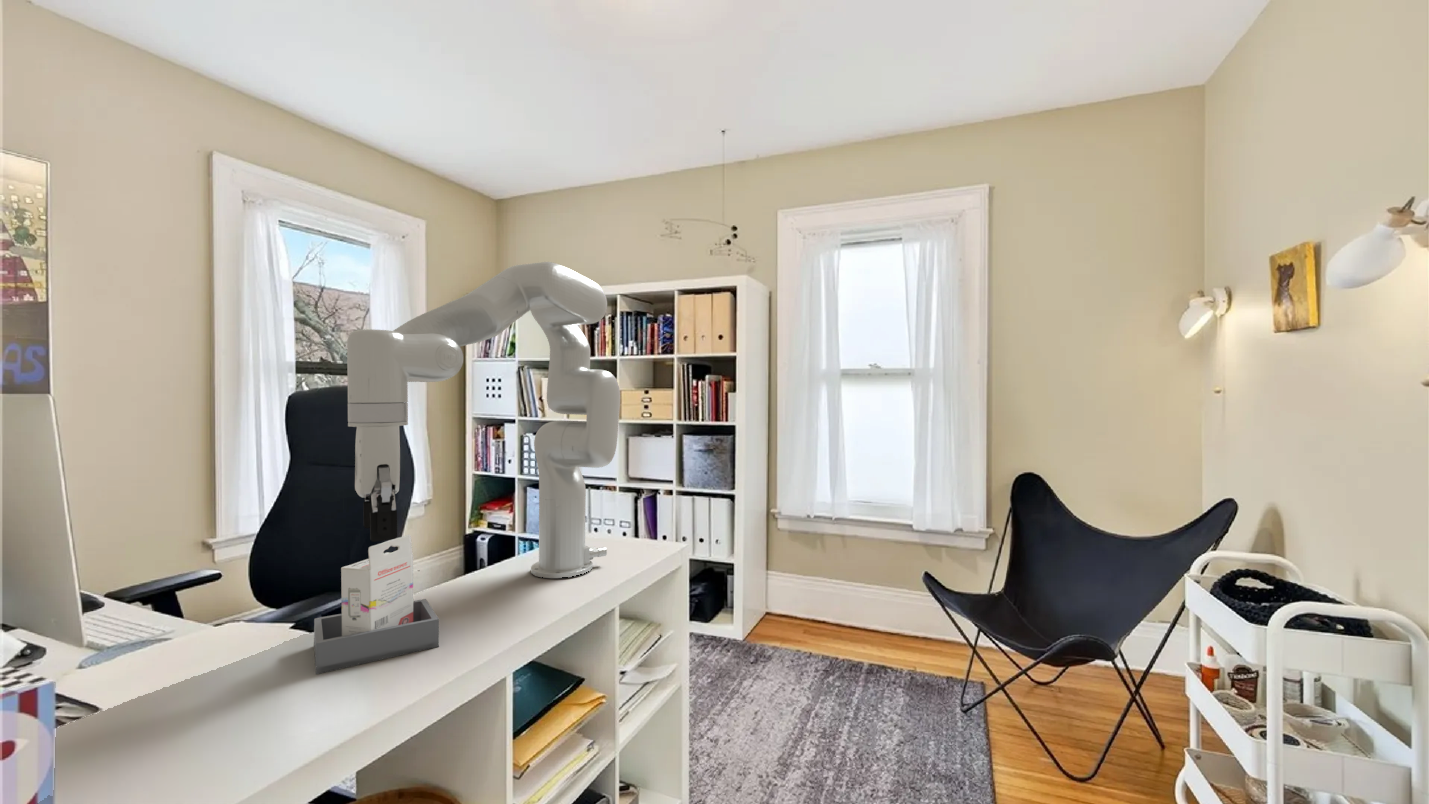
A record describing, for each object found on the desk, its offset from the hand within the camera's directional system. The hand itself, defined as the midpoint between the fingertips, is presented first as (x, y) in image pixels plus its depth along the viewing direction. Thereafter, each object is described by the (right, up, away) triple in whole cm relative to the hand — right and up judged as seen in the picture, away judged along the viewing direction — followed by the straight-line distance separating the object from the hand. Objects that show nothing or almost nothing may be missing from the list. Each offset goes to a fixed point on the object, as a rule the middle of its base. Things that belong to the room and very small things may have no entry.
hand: (379, 533), depth 83 cm
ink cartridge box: (0, -16, 0) cm, 16 cm away
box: (0, -16, 0) cm, 16 cm away
